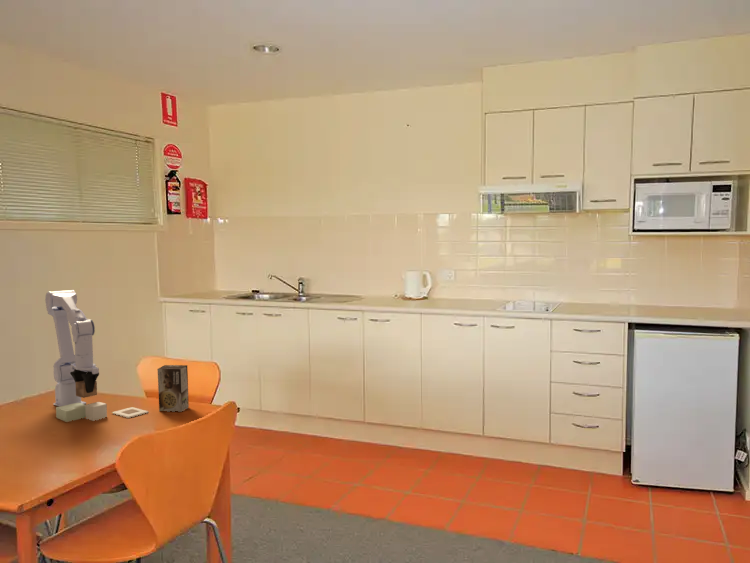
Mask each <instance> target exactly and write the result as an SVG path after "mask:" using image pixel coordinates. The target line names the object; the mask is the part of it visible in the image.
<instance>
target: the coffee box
mask: <svg viewBox="0 0 750 563" xmlns="http://www.w3.org/2000/svg"><path fill="white" fill-rule="evenodd" d="M188 374H189V373H188V365H185V364H184V365H183V364H180V365H179V364H175V365H174V364H170V365H169V364H164V365H162V366H161V367H159V368H157V384H158V386H157V387H158V388H157V390H158V412H160V411H167V412H168V413H169V412H170V411H172V413H173V412H175V411H178V412H179V413H183V412H184V411H186V410H187V409H189V408H190V407H189V406H190V405H189V402H190V401H189V379H188V378H189V376H188ZM188 407H189V408H188ZM185 409H186V410H185ZM182 411H183V412H182ZM167 412H166V413H167ZM170 413H171V412H170ZM175 413H176V412H175Z"/></svg>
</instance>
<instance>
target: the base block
mask: <svg viewBox="0 0 750 563" xmlns="http://www.w3.org/2000/svg"><path fill="white" fill-rule="evenodd" d="M85 405H86V404H82V403H74V404H69V405H65V406H56V407H55V415H56V417H55V418H56V419H59V420H61V421H63V422H66V423H68V422H69V423H70V422H73V421H77V420H81V418H82V419H86V418H85V417H86V414H85ZM72 420H73V421H72Z"/></svg>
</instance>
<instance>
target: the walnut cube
mask: <svg viewBox="0 0 750 563" xmlns="http://www.w3.org/2000/svg"><path fill="white" fill-rule="evenodd" d="M97 384H98V381H97V380H96V382H95V385H94V390H93V392H90V393H87V392H86V388H85V382H84V381H79V382H76V396H78V397H81V399H82V398H84V399H85V398H89V397H90V398H91V397H93V396H94V397H95V396H97V395H98V385H97Z"/></svg>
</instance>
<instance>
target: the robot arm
mask: <svg viewBox="0 0 750 563" xmlns="http://www.w3.org/2000/svg"><path fill="white" fill-rule="evenodd" d="M44 301H45V307H46V308H45V309H46V311H47V314H48V315H50V316H52V317H53V323H54V328H55V334H56V340H57V345H58V352H59V358H58V359H56V361H55V362H54V363H53V377H54V378H53V379H54V380H55V382H56V385H55V388H54V393H55V394H54V397H55V402H53V403H52V404H53V405H54V406H56V407H60V406H65V405H69V404H74V403H82V404H84V405H87V402H86V401H82V397H78V396H76V382H79V381H84V382H85V388H86V392H87V393H90V392H93V390H94V385H95V382H96V381H97V379H98V377H99V375H100V369H99V367H98V366H97V364H96V363H94V353H93V352H94V347H93V344H94V343H93V336H94V335H95V332H96V329H95V328H96V327H95V323H94V321H93V319H90V318H88V317H87V316H86V314H85V313H84V311H83V310H82V309H80V308H78V307H77V302H78V295H77V292H76V291H75V290H74V289H70V290H54V291H50V290H48V291H47V292H46V294H45V300H44ZM70 326H71V328H70ZM70 329H71V330H70ZM71 334H72V335H71ZM73 342H74V345H73Z"/></svg>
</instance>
